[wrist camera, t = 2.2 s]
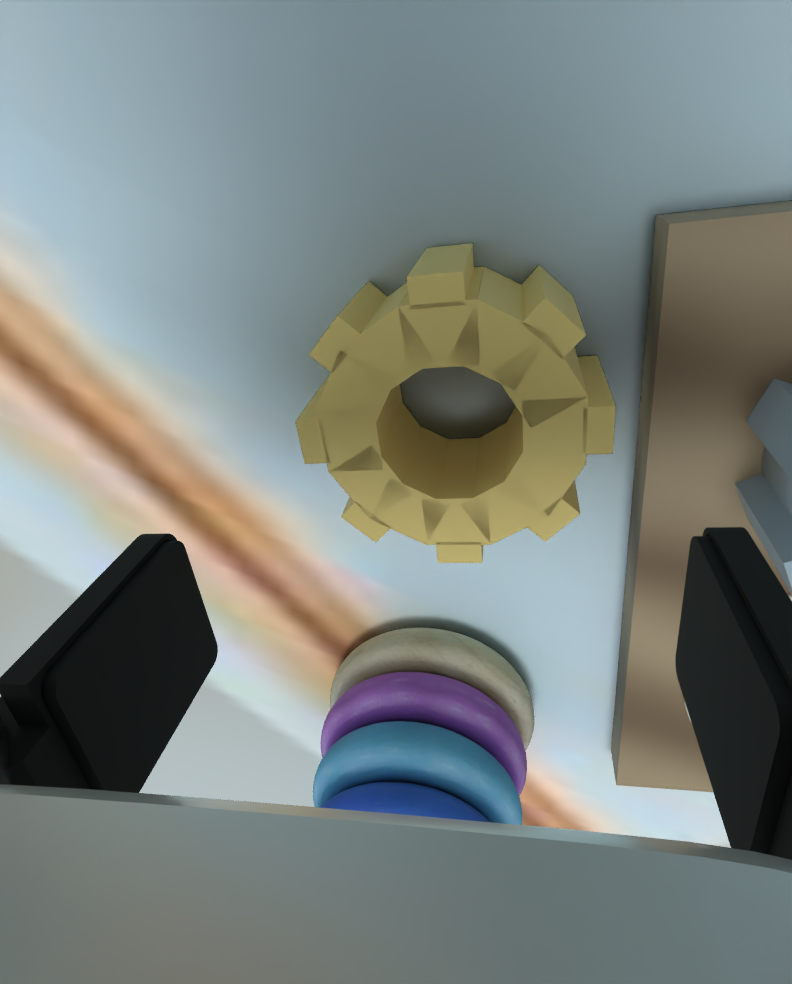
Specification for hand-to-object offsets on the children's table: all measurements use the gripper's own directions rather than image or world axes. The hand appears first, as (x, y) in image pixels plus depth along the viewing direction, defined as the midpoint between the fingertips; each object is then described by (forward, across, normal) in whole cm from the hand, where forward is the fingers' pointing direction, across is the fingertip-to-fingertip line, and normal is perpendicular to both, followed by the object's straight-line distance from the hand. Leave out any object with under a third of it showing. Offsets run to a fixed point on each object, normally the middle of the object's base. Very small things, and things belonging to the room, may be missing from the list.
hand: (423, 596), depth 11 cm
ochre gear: (+8, 0, -1) cm, 8 cm away
